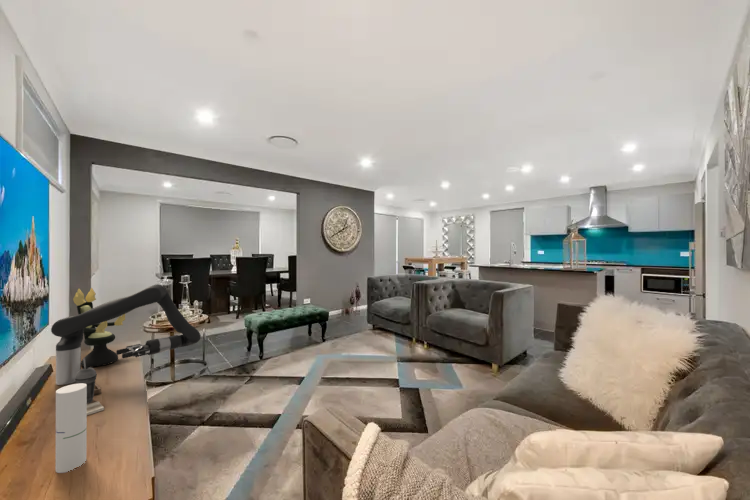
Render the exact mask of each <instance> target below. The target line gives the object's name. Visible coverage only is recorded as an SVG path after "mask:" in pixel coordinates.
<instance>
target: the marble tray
mask: <svg viewBox="0 0 750 500" xmlns="http://www.w3.org/2000/svg"><path fill="white" fill-rule="evenodd" d="M99 394H102V388H101V387H100V386H99V385H98V384H97V383H96V382H95V388H94V396H95V395H99Z"/></svg>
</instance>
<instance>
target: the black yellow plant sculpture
mask: <svg viewBox="0 0 750 500" xmlns="http://www.w3.org/2000/svg"><path fill="white" fill-rule="evenodd" d="M96 300H97V298H96V292H95V291H94V289H93V287H91V288H90V290H89V291H88V293H87V294H86V296H85V294H84V292H83V291H82V290H81V289H80V288H78V289H77V292H75V294H74V296H73V299H72V301H73V304H75V305H76V310H77V315H79V314H82V313H84V312H86V311H88V310H90V309H92V308H94V305H93V302H95V301H96ZM124 321H126V314H124V315H121V316H119V317H117V319H116V320H115V321H110V322H109V321H105V322H102V323H98V324H95V325H91V326H88V327H85V328H84V331H83V339H84V340H83V342H84V345H86V346H92V347H93V348H92V350H91V351H90V352H89V353H88V354H86V355H85V356H84V357H83V358H85V365H86V367H91V368H93V367H92V366H97V367H101V366H100V365H102V366H106V365H109V364H108V363H110V364H112V363H114V362H115V360H116V361H117V360H118V359H119V355H117V354H116V352H115V351H113V350H112V349H111V348H110V349H109V348H108V346H107V344H109V343H112V342H114V341H115V339H116V335H115V334H114V333H112V332H111V331H106V329H107V328H108V327H113V326H117V327H118V326H123V325H124V324H123V322H124ZM111 362H112V363H111ZM105 364H106V365H105ZM81 367H84V360H83V359H81Z"/></svg>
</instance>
